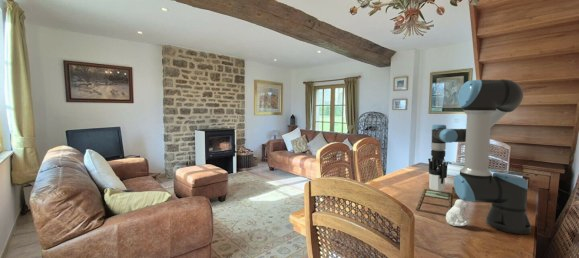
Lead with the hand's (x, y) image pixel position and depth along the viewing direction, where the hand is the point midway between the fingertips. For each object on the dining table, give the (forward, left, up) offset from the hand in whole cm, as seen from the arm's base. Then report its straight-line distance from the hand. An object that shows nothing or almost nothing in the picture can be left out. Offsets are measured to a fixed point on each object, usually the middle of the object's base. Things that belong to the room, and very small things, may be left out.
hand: (437, 187), depth 156 cm
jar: (0, 0, -1) cm, 1 cm away
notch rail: (-14, +4, -5) cm, 15 cm away
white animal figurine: (-46, +2, -5) cm, 47 cm away
